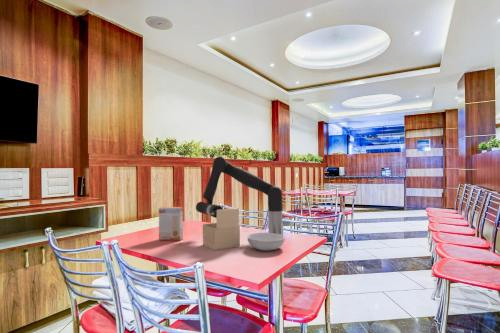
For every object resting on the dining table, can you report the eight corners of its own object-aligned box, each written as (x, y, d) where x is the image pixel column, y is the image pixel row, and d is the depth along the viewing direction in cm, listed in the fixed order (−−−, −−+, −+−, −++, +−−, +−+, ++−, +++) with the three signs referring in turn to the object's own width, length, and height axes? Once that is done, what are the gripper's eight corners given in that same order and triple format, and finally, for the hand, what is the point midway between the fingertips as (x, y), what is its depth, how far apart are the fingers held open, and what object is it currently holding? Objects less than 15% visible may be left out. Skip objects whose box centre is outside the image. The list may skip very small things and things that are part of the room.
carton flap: (216, 210, 156) (217, 210, 156) (238, 208, 164) (238, 208, 163) (216, 228, 156) (216, 228, 156) (238, 225, 164) (238, 225, 164)
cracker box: (183, 238, 184) (183, 206, 185) (180, 241, 178) (179, 207, 179) (162, 238, 186) (162, 206, 186) (158, 240, 180) (158, 207, 180)
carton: (201, 244, 169) (201, 224, 169) (226, 240, 179) (226, 221, 179) (214, 251, 155) (213, 229, 156) (240, 246, 165) (240, 225, 165)
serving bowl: (279, 255, 146) (279, 242, 146) (242, 252, 153) (241, 239, 154) (288, 245, 166) (288, 233, 166) (254, 242, 173) (254, 231, 173)
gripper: (204, 205, 171) (217, 208, 156) (224, 204, 178) (237, 206, 164) (204, 218, 171) (217, 222, 156) (224, 215, 178) (238, 219, 163)
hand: (227, 214), depth 160 cm, fingers closed
